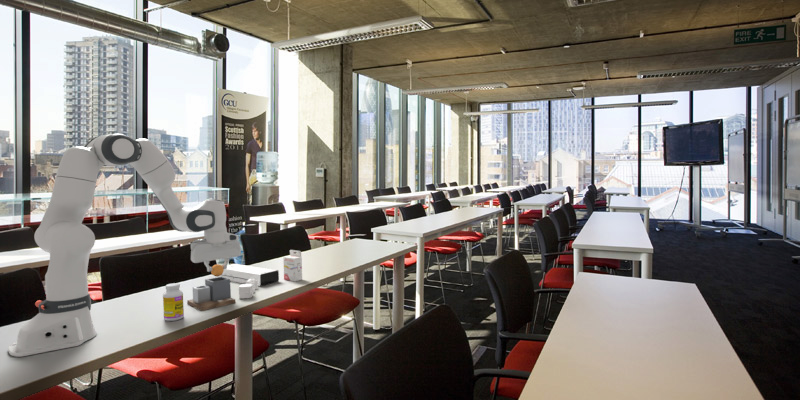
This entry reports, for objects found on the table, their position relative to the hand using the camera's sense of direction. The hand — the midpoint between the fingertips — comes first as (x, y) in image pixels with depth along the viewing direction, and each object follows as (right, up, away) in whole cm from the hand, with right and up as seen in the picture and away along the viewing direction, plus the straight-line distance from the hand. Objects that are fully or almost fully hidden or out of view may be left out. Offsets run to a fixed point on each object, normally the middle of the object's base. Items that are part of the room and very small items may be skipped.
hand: (217, 270), depth 188 cm
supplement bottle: (-8, -15, -21) cm, 27 cm away
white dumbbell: (+9, -13, +15) cm, 21 cm away
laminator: (0, -12, +40) cm, 41 cm away
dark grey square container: (0, -12, +1) cm, 12 cm away
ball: (0, 0, 0) cm, 0 cm away
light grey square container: (-5, -12, -4) cm, 14 cm away
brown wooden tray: (-2, -14, -2) cm, 14 cm away
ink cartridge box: (+23, -11, +38) cm, 46 cm away
